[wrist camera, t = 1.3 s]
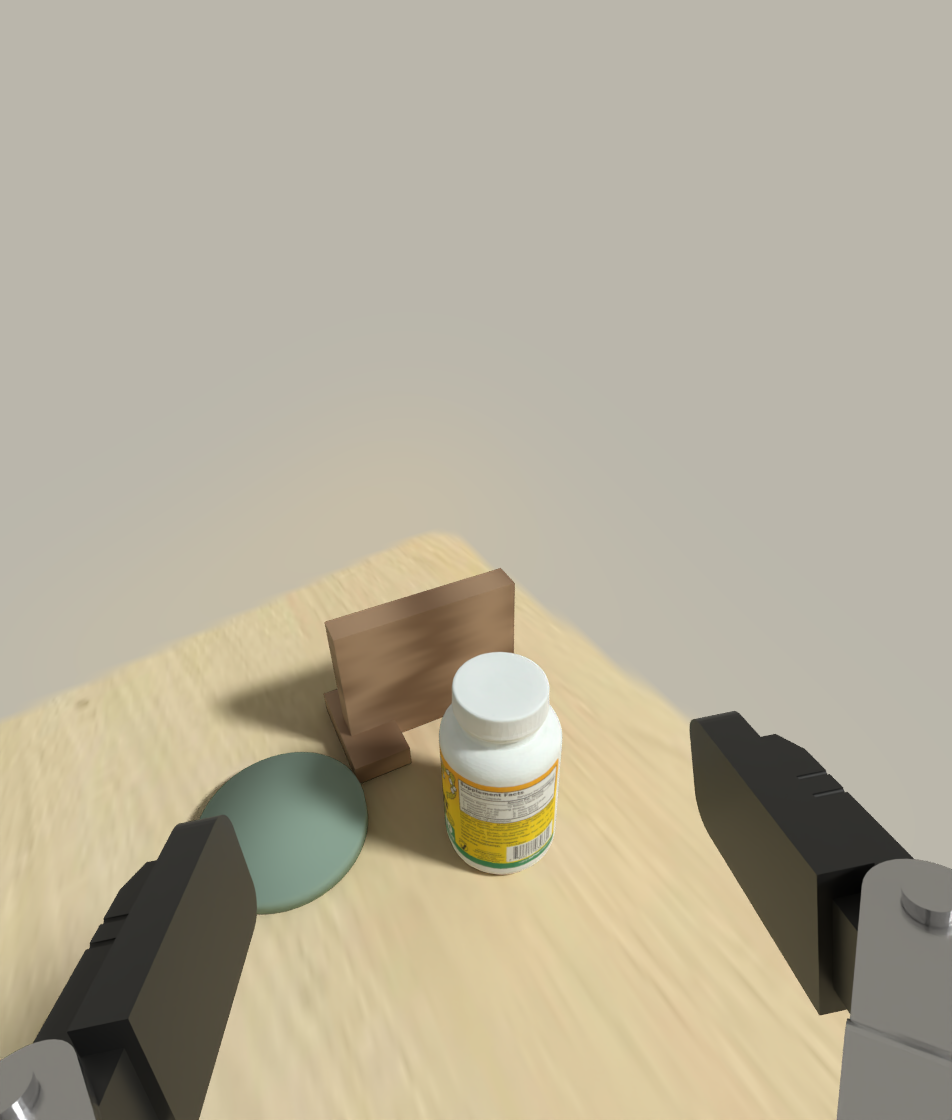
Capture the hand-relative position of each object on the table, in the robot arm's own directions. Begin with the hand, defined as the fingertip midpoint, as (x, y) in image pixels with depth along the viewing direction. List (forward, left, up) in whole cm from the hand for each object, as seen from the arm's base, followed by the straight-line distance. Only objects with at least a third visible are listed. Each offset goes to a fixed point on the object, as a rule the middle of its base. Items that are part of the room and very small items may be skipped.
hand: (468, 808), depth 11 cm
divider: (-15, +14, -19) cm, 27 cm away
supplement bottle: (-7, +10, -19) cm, 23 cm away
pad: (-15, +3, -19) cm, 24 cm away
